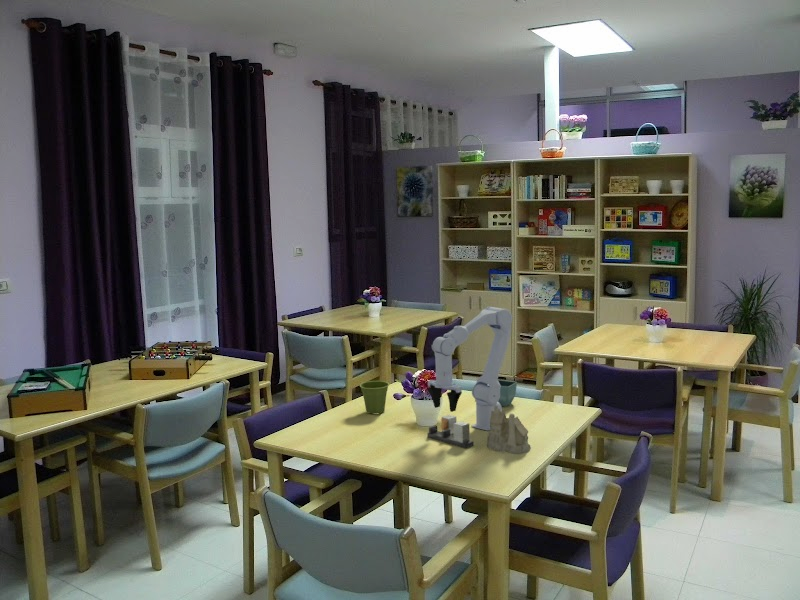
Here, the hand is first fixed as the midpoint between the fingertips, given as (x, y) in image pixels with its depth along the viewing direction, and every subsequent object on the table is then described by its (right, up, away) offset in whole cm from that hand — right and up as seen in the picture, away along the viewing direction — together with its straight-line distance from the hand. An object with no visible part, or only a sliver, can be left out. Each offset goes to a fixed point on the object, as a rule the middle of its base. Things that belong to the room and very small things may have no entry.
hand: (445, 409), depth 252 cm
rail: (+1, -10, -5) cm, 12 cm away
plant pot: (-26, -6, +33) cm, 43 cm away
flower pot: (+26, -4, +39) cm, 47 cm away
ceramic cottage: (+22, -11, -10) cm, 26 cm away
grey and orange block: (+2, -9, +4) cm, 10 cm away
